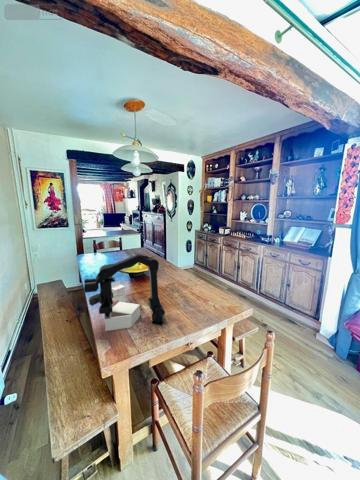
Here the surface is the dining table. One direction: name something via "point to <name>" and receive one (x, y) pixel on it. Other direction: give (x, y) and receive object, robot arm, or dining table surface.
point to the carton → (126, 311)
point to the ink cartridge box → (118, 293)
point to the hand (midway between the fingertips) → (107, 316)
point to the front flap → (117, 322)
